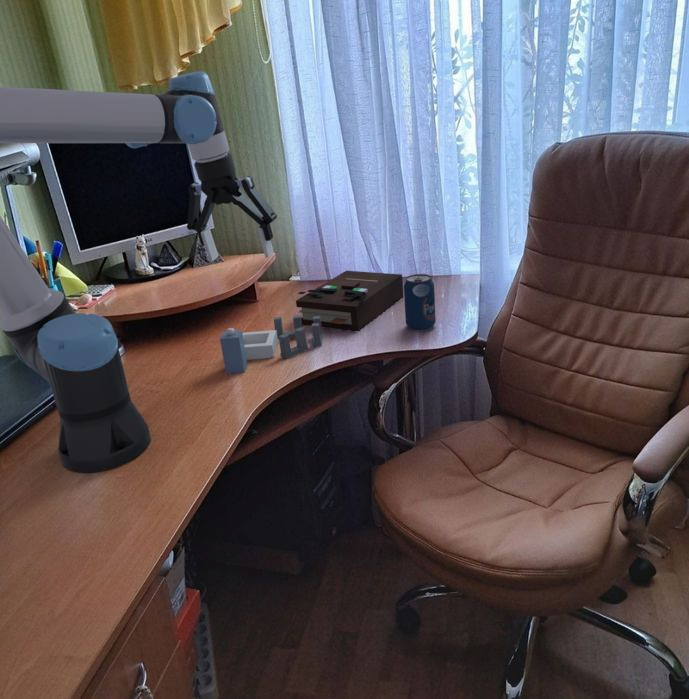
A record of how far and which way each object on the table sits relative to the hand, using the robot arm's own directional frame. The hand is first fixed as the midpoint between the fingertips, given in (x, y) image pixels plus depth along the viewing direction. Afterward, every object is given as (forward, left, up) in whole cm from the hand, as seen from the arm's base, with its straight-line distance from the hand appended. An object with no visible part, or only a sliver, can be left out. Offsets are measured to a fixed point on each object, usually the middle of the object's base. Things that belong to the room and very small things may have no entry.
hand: (241, 257), depth 140 cm
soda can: (+38, +9, -23) cm, 45 cm away
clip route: (+9, +3, -23) cm, 24 cm away
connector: (-3, -7, -23) cm, 24 cm away
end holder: (0, +2, -23) cm, 23 cm away
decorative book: (+22, +24, -23) cm, 40 cm away
